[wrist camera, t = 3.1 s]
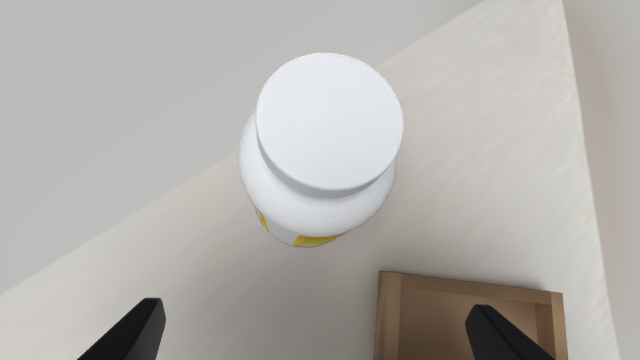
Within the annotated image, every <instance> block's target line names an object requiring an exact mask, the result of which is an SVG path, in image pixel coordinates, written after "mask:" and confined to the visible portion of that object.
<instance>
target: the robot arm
mask: <svg viewBox="0 0 640 360" xmlns="http://www.w3.org/2000/svg"><path fill="white" fill-rule="evenodd" d="M165 322H166V316H165V311H164V307H163V302H162V300H161V299H160V298H145V299H143V300H142V301H140V302H139V303H138V304H137V305H136V306H135V307H134V308H133V309H132V310H131V311H129V312H128V313H127V314H126V315H125V316H124V317H123V318H122V319H121V320H120V321H119V322H117V323H116V324H115V325H114V326H113V327H112V328H111V329H110V330H109V331H108V332H107V333H105V334H104V335H103V336H102V337H101V338H100V339H99V340H98V341H97V342H96V343H95V344H93V345H92V346H91V347H90V348H89V349H88V350H87V351H86V352H85V353H84V354H83V355H81V356H80V357H79V358H78V359H77V360H156V356H157V353H158V349H159V345H160V342H161V338H162V335H163V331H164V327H165ZM465 329H466V332H467V336H468V339H469V342H470V346H471V349H472V352H473V356H474V359H475V360H556V359H554V358H553V357H552V356H551V355H550V354H548V353H547V352H546V351H545V350H544V349H542V348H541V347H540V346H539V345H538V344H536V343H535V342H534V341H533V340H532V339H530V338H529V337H528V336H527V335H526V334H525V333H523V332H522V331H521V330H520V329H519V328H517V327H516V326H515V325H514V324H513V323H511V322H510V321H509V320H508V319H507V318H505V317H504V316H503V315H502V314H501V313H499V312H498V311H497V310H496V309H495V308H493V307H492V306H491V305H489V304H475V305H473V307H472V309H471V311H470V312H469V314H468V316H467V318H466V320H465Z"/></svg>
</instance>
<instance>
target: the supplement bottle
mask: <svg viewBox="0 0 640 360" xmlns="http://www.w3.org/2000/svg"><path fill="white" fill-rule="evenodd" d="M403 131H404V123H403V113H402V109H401V106H400V103H399V100H398V98H397V96H396V94H395V92H394V90H393V89H392V87H391V86H390V85H389V83H388V82H387V81H386V80H385V79H384V78H383V77H382V75H380V74H379V73H378V72H377V71H376V70H374V69H373V68H372V67H370V66H369V65H367V64H365V63H364V62H362V61H360V60H358V59H355V58H353V57H350V56H346V55H342V54H335V53H313V54H309V55H305V56H301V57H298V58H296V59H294V60H291V61H289V62H288V63H286V64H284V65H283V66H281V67H280V68H279V69H278V70H277V71H276V72H275V73H273V74H272V75H271V76H270V78H269V79H268V80H267V82H266V84H265V85H264V87H263V89H262V91H261V93H260V95H259V98H258V102H257V107H256V109H255V111H254V112H253V113H252V115H251V116H250V118H249V119H248V121H247V122H246V125H245V127H244V129H243V131H242V134H241V138H240V142H239V148H238V166H239V172H240V177H241V180H242V183H243V186H244V188H245V190H246V192H247V195H248V197H249V198H250V200H251V202H252V204H253V206H254V208H255V210H256V212H257V215H258V216H259V219H260V220H261V222H262V224H263V225H264V227H265V228H266V229H267V230H268V232H269V233H270V234H271V235H273V236H274V237H275V238H276V239H278V240H279V241H281V242H283V243H285V244H288V245H291V246H295V247H315V246H319V245H322V244H324V243H327V242H329V241H331V240H333V239H335V238H337V237H338V236H340V235H342V234H344V233H346V232H348V231H350V230H352V229H354V228H356V227H358V226H359V225H361V224H363V223H364V222H365V221H367V220H368V219H369V218H371V217H372V216H373V215H374V214H375V213H376V212H377V211H378V210H379V208H380V207H381V206H382V205H383V203H384V202H385V200H386V198H387V197H388V194H389V192H390V190H391V187H392V185H393V182H394V178H395V173H396V156H397V154H398V152H399V149H400V146H401V143H402V138H403Z"/></svg>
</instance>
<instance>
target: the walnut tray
mask: <svg viewBox="0 0 640 360" xmlns="http://www.w3.org/2000/svg"><path fill="white" fill-rule="evenodd" d="M475 304H489V305H491V306H492V307H493V308H495V309H496V310H497V311H498V312H499V313H501V314H502V315H503V316H504V317H505V318H507V319H508V320H509V321H510V322H511V323H513V324H514V325H515V326H516V327H517V328H519V329H520V330H521V331H522V332H523V333H525V334H526V335H527V336H528V337H529V338H530V339H532V340H533V341H534V342H535V343H536V344H538V345H539V346H540V347H541V348H542V349H544V350H545V351H546V352H547V353H548V354H550V355H551V356H552V357H553V358H554V359H556V360H568V352H567V341H566V330H565V318H564V307H563V296H562V293H558V292H549V291H541V290H533V289H525V288H517V287H508V286H500V285H492V284H484V283H475V282H467V281H459V280H451V279H443V278H434V277H426V276H418V275H410V274H401V273H393V272H383V271H379V286H378V302H377V318H376V334H375V350H374V360H475V359H474V356H473V352H472V349H471V346H470V342H469V339H468V336H467V332H466V329H465V320H466V318H467V316H468V314H469V312H470V311H471V309H472V307H473V305H475Z"/></svg>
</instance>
